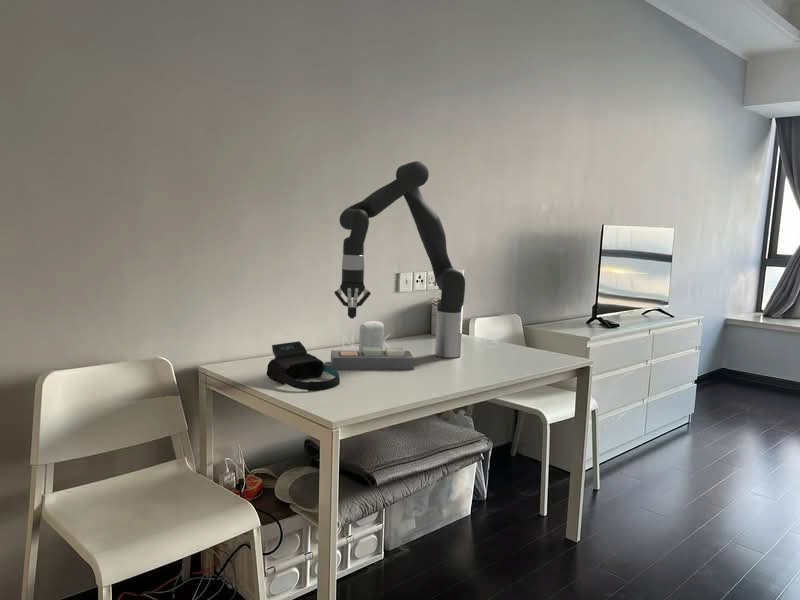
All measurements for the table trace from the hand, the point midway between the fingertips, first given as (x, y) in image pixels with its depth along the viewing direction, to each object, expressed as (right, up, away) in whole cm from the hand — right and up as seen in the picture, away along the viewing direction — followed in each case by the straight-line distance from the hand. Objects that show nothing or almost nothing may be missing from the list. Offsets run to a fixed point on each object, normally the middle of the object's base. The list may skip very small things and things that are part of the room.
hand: (351, 318), depth 217 cm
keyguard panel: (+7, -17, +3) cm, 18 cm away
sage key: (+7, -14, +3) cm, 16 cm away
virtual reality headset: (-12, -20, -23) cm, 33 cm away
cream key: (+15, -14, +4) cm, 21 cm away
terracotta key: (-1, -15, +2) cm, 15 cm away
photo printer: (+5, -14, +24) cm, 29 cm away
